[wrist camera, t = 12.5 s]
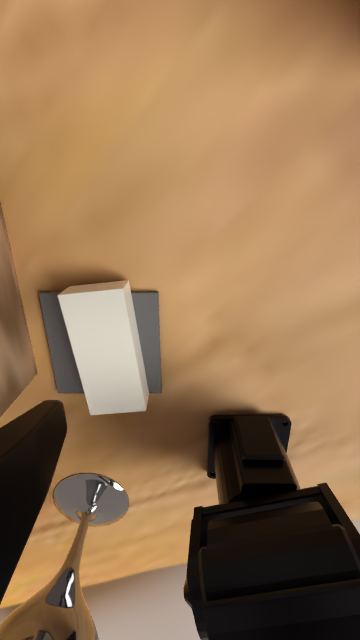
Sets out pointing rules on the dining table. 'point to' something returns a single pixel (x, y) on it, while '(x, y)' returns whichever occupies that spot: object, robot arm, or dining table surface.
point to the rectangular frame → (12, 330)
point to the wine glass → (69, 565)
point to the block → (106, 346)
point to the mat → (63, 353)
